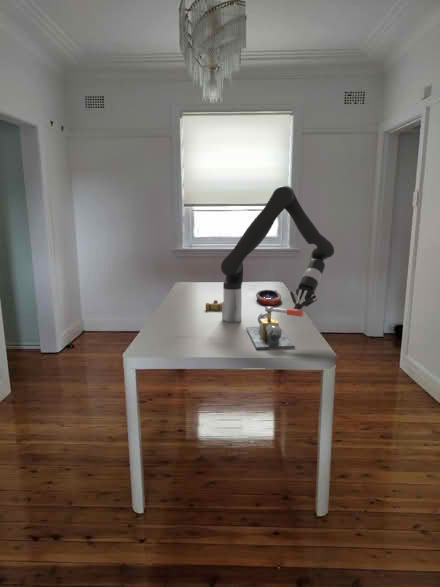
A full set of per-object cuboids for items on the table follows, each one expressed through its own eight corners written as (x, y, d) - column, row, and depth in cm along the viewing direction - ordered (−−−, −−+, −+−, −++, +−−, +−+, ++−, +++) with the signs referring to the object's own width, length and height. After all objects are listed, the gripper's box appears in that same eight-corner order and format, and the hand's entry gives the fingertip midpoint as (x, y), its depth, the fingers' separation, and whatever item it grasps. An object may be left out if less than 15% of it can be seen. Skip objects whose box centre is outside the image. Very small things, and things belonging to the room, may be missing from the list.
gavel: (207, 297, 234) (223, 297, 234) (207, 305, 235) (223, 305, 235) (205, 303, 213) (223, 303, 213) (205, 311, 214) (223, 311, 214)
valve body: (246, 329, 181) (246, 304, 178) (279, 328, 182) (279, 303, 180) (256, 349, 155) (256, 321, 152) (294, 348, 156) (295, 320, 153)
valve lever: (263, 311, 165) (263, 307, 165) (267, 310, 168) (267, 305, 168) (301, 316, 157) (301, 311, 157) (303, 314, 160) (304, 309, 160)
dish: (279, 295, 251) (279, 288, 250) (282, 307, 221) (283, 299, 220) (255, 295, 252) (255, 288, 251) (256, 307, 222) (256, 299, 221)
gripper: (294, 273, 170) (279, 305, 163) (321, 277, 162) (307, 310, 155) (299, 283, 175) (285, 314, 169) (326, 287, 167) (312, 319, 160)
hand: (296, 312), depth 162 cm, fingers closed
